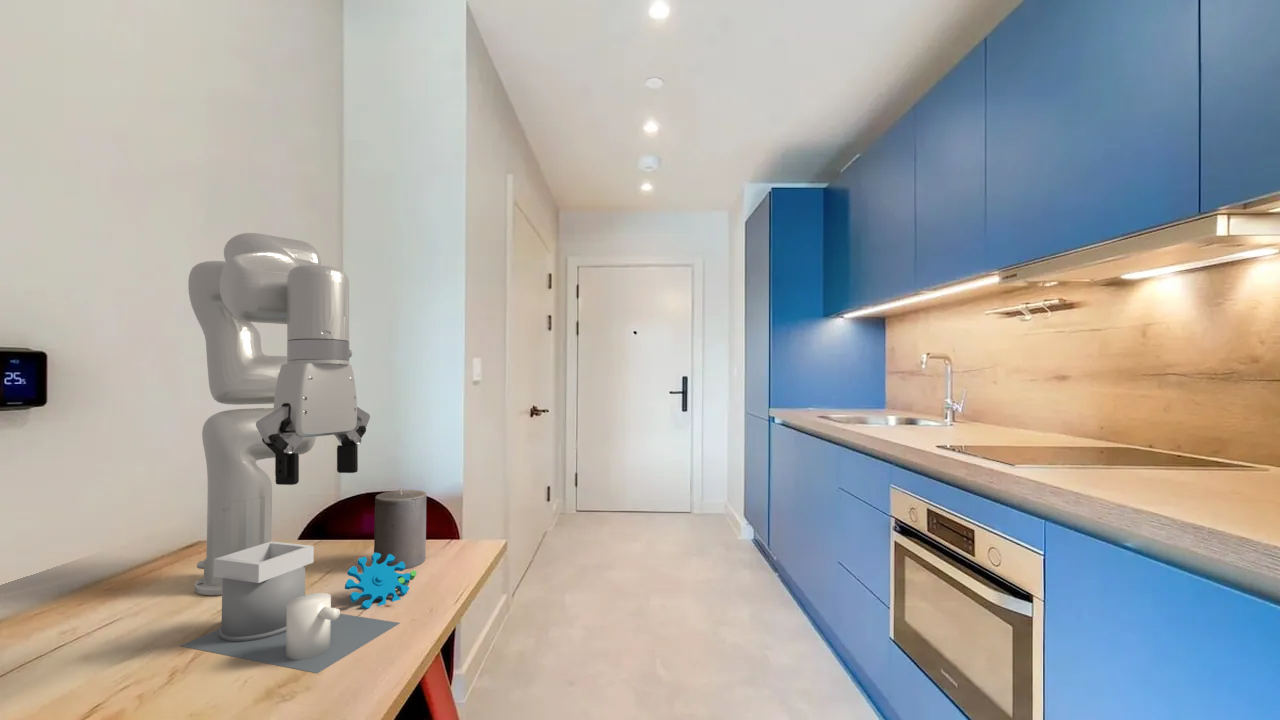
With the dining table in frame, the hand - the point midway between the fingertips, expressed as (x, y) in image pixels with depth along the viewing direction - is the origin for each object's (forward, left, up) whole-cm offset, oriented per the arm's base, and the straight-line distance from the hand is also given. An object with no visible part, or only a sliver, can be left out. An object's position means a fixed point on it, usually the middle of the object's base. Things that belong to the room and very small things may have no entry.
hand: (319, 478), depth 74 cm
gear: (-3, +15, -24) cm, 28 cm away
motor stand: (-5, +1, -23) cm, 24 cm away
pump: (+2, -2, -22) cm, 22 cm away
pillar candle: (-14, +32, -24) cm, 42 cm away
